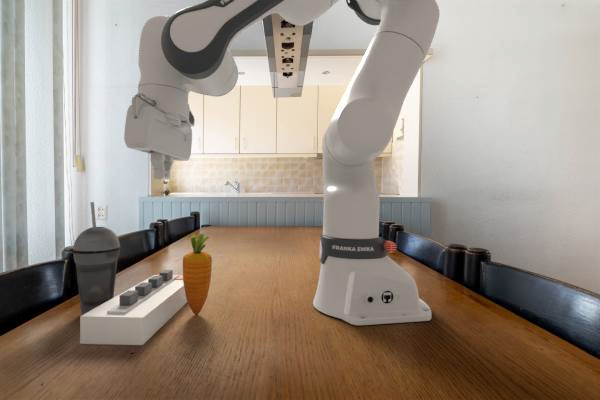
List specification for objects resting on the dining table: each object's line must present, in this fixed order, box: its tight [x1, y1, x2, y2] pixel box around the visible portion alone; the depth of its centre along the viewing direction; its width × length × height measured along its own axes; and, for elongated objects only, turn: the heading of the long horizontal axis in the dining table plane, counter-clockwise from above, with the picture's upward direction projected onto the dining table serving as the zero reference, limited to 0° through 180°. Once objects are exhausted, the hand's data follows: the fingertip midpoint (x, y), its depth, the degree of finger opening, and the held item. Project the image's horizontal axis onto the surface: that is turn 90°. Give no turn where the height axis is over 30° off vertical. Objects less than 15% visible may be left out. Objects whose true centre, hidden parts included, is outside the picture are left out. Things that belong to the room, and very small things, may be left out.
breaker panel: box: [79, 269, 188, 346], centre depth 54 cm, size 9×22×6 cm, turn 0°
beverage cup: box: [71, 201, 122, 316], centre depth 54 cm, size 7×7×20 cm
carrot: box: [182, 232, 213, 316], centre depth 54 cm, size 5×5×15 cm
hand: (161, 179), depth 58 cm, fingers closed
